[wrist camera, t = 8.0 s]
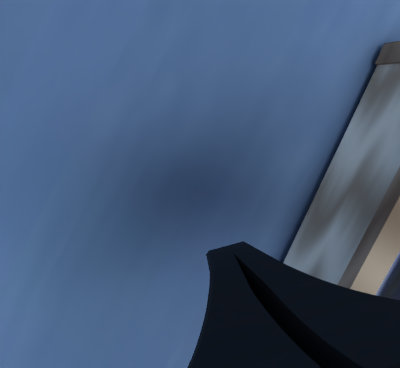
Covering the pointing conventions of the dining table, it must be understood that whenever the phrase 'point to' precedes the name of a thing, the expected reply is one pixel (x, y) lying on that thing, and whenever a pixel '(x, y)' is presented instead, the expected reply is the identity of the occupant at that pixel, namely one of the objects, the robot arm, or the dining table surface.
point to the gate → (359, 193)
